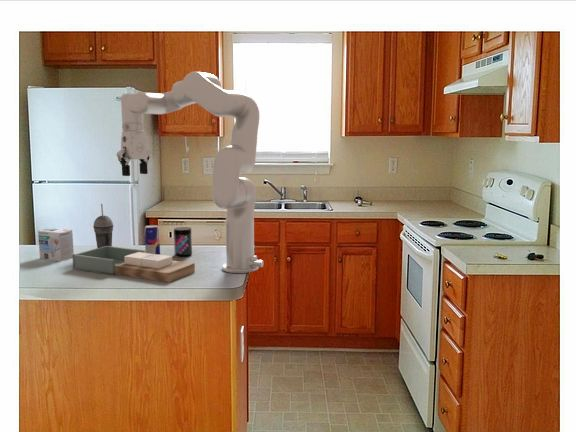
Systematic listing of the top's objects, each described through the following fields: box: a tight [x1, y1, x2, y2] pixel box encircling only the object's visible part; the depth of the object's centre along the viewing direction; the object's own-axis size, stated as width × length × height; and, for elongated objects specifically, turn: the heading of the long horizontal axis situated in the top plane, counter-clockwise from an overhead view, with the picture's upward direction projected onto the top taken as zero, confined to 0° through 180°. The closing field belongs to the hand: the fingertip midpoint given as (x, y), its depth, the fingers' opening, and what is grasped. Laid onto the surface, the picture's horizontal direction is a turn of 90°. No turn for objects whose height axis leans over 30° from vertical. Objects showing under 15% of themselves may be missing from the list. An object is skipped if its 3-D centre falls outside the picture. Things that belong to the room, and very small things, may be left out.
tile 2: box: [142, 254, 173, 268], centre depth 176 cm, size 7×7×2 cm
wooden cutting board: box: [115, 259, 196, 283], centre depth 177 cm, size 22×14×3 cm, turn 65°
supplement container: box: [173, 226, 193, 258], centre depth 201 cm, size 7×7×10 cm
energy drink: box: [144, 224, 161, 255], centre depth 198 cm, size 5×5×12 cm
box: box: [72, 245, 145, 276], centre depth 185 cm, size 18×16×5 cm
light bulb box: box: [37, 227, 75, 262], centre depth 197 cm, size 11×7×11 cm, turn 68°
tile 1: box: [124, 252, 155, 266], centre depth 179 cm, size 7×7×2 cm
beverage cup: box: [92, 203, 114, 248], centre depth 199 cm, size 7×7×20 cm
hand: (135, 174), depth 196 cm, fingers open, 9 cm apart
